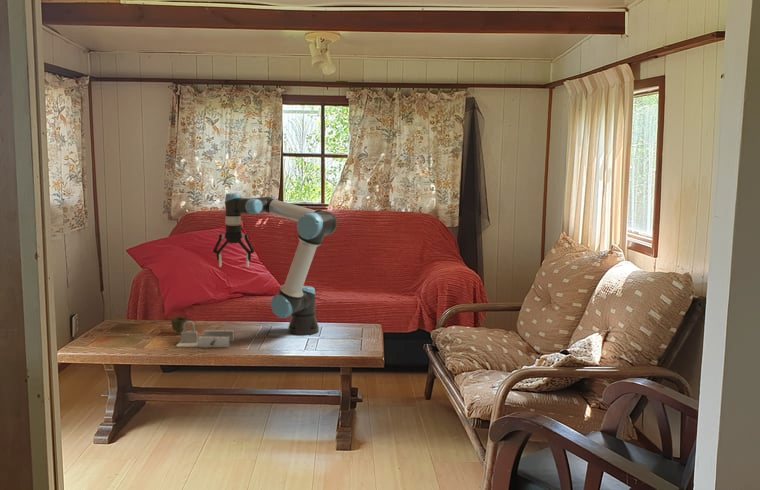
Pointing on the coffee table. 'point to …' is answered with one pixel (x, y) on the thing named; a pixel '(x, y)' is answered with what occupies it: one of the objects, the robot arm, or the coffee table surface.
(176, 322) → the cup
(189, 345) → the pad
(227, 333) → the vise
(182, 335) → the padlock
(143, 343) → the coffee table surface
